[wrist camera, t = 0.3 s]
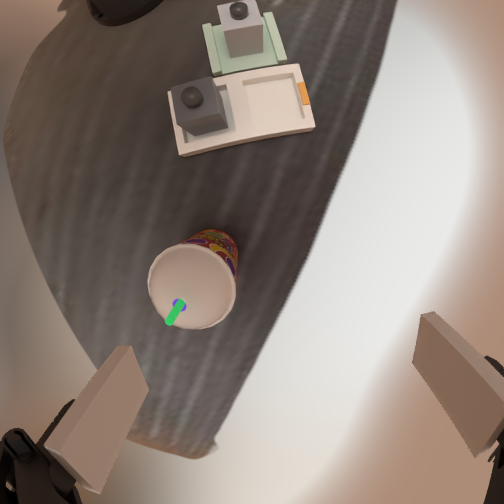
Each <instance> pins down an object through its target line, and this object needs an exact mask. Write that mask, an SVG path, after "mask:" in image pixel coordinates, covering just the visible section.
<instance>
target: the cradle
mask: <svg viewBox="0 0 504 504" xmlns="http://www.w3.org/2000/svg"><path fill="white" fill-rule="evenodd" d="M261 19H262V22H263V53H258V54H252V55H246V56H241V57H236V58H230V54H229V50H228V47H227V43H226V39H225V36H224V32H223V28H222V24H221V25H217V26H211V23H208V24H204V25H202V26H203V31H204V36H205V41H206V45H207V50H208V55H209V59H210V64H211V69H212V73H213V75H214V77H217V76H221V75H226V74H230V73H235V72H240V71H245V70H250V69H255V68H261V67H268V66H274V65H282V64H286V63H287V57H286V54H285V51H284V47H283V44H282V41H281V38H280V35H279V32H278V29H277V26H276V23H275V20H274V17H273V14H272V12H267V13H263V17H261Z"/></svg>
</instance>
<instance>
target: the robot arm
mask: <svg viewBox="0 0 504 504" xmlns="http://www.w3.org/2000/svg"><path fill="white" fill-rule="evenodd" d="M161 1H162V0H86V2H87V5H88V8H89V10H90V13H91V15H92V16H93V18H94V19H96V20H97V21H98V22H99V23H101V24H103V25H107V26H115V25H121V24H124V23H127V22H130V21H133V20H135V19H137V18H139V17H141V16H143V15H144V14H146V13H148V12H149V11H151V10H152V9H153V8H155V7H156V6H157V5H158V4H159V3H160V2H161ZM412 363H413V365H414V366H415V367H416V369H417V370H418V372H419V373H420V374H421V376H422V377H423V379H424V380H425V382H426V383H427V384H428V386H429V387H430V389H431V390H432V392H433V393H434V395H435V396H436V398H437V399H438V401H439V402H440V404H441V405H442V406H443V408H444V410H445V411H446V413H447V414H448V416H449V417H450V419H451V420H452V422H453V423H454V425H455V427H456V428H457V430H458V431H459V433H460V435H461V436H462V438H463V439H464V441H465V443H466V444H467V446H468V448H469V449H470V451H471V453H472V454H473V456H474V458H477V457H478V456H480V455H482V454H483V453H485V452H486V451H488V450H489V449H490V448H491V447H492V445H493V444H494V443H495V441H496V440H497V441H498V442H499V445H498V447H497V448H496V449H495V451H494V452H493V453H492V454H491V456H490V457H489V459H488V462H490V461H491V460H492V458H493V457H494V456H495V459H494V461H493V462H494V465H493V470H492V474H491V478H490V483H489V486H488V490H487V494H486V497H485V500H484V504H504V367H503V366H502V365H501V364H500V363H499V362H497V360H495V359H493V358H491V357H489V356H485V357H483V356H482V355H481V354H480V353H479V352H478V351H477V350H476V349H475V348H474V347H472V346H471V345H470V344H469V343H468V342H467V341H466V340H465V339H464V338H463V337H462V336H461V335H460V334H459V333H458V332H456V331H455V330H454V329H453V328H452V327H451V326H450V325H449V324H448V323H446V322H445V321H444V320H443V319H442V318H441V317H440V316H439V315H437V314H436V313H435V312H434V311H433V312H429V313H425V314H422V315H421V317H420V324H419V330H418V336H417V341H416V346H415V352H414V356H413V361H412ZM148 391H149V389H148V387H147V384H146V382H145V380H144V377H143V375H142V372H141V370H140V367H139V365H138V362H137V360H136V357H135V354H134V352H133V349H132V346H129V345H117V347H116V348H115V349H114V350H113V352H112V353H111V354H110V356H109V357H108V358H107V359H106V361H105V362H104V363H103V364H102V366H101V367H100V368H99V370H98V371H97V372H96V373H95V375H94V376H93V377H92V379H91V380H90V381H89V383H88V384H87V385H86V387H85V388H84V389H83V391H82V392H81V393H80V395H79V396H78V397H77V399H76V400H75V399H73V400H71V401H70V402H69V403H67V404H66V405H64V407H63V408H62V410H61V411H60V412H59V413H58V415H57V416H56V417H55V419H54V422H52V423H51V424H50V426H49V427H48V428H47V430H46V431H45V432H44V434H43V435H42V437H41V438H40V439H39V441H38V442H37V444H35V443H34V442H33V441H32V440H31V438H30V437H29V436H28V434H27V433H26V432H25V431H24V430H23V429H20V428H14V429H11V430H9V431H8V432H7V433H5V435H4V436H3V438H2V441H0V504H82V502H81V499H80V496H79V493H78V490H77V488H76V487H75V486H74V484H75V482H76V481H77V482H78V483H79V484H80V485H81V486H82V487H84V488H85V489H87V490H90V491H93V492H95V493H98V494H100V493H101V491H102V489H103V486H104V484H105V482H106V480H107V477H108V475H109V473H110V471H111V469H112V466H113V464H114V462H115V460H116V458H117V456H118V453H119V451H120V449H121V447H122V445H123V443H124V441H125V438H126V436H127V434H128V432H129V430H130V428H131V426H132V424H133V422H134V420H135V418H136V416H137V413H138V411H139V409H140V407H141V405H142V403H143V401H144V399H145V397H146V395H147V393H148ZM6 481H7V482H8V483H9V484H10V485H11V486H12V490H11V491H10V490H9V489H8V488H7V487H6Z"/></svg>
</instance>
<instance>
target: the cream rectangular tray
mask: <svg viewBox="0 0 504 504" xmlns="http://www.w3.org/2000/svg"><path fill="white" fill-rule="evenodd" d="M170 89H171V91H168V98H169V104H170V109H171V115H172V121H173V126H174V131H175V137H176V142H177V147H178V152H179V155H180V156H183V157H188V156H192V155H195V154H199V153H203V152H207V151H211V150H215V149H219V148H224V147H228V146H232V145H237V144H241V143H246V142H251V141H256V140H261V139H266V138H272V137H278V136H283V135H289V134H296V133H302V132H309V131H312V130H313V129H314V128H315V123H314V119H313V115H312V111H311V107H310V101H309V98H308V94H307V90H306V87H305V83H304V81H303V77H302V74H301V70H300V67H299V64H290V65H282V66H275V67H268V68H262V69H256V70H250V71H245V72H240V73H235V74H231V75H226V76H222V77H217V78H212V76H208V77H205V78H201V79H197V80H194V81H190V82H187V83H183V84H180V85H177V86H174V87H171V88H170Z"/></svg>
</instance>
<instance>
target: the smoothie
mask: <svg viewBox="0 0 504 504" xmlns="http://www.w3.org/2000/svg"><path fill="white" fill-rule="evenodd" d="M237 266H238V249H237V247H236V244H235V242H234V241H233V239H232V238H231V237H230V236H229V235H227V234H226V233H224V232H223V231H219V230H216V229H209V230H204V231H202V232H199V233H197V234H195V235H193V236H192V237H190V238H188V239H186V240H184V241H182V242H180V243H178V244H176V245H174V246H172V247H169V248H167V249H165V250H164V251H163V252H162V253H160V254H159V255H158V256H157V257H156V258H155V260H154V262H153V263H152V265H151V267H150V270H149V275H148V280H147V282H148V289H149V295H150V297H151V300H152V302H153V305H154V307H155V309H156V311H157V312H158V313H159V314H160V315H161V316H162V317H163V319H165V323H166V324H167V325H169V326H171V325H174V326H177V327H180V328H183V329H194V330H195V329H204V328H208V327H212V326H214V325H216V324H217V323H219V322H221V321H222V320H224V319H225V317H226V316H227V315H228V314H229V312H230V311H231V310H232V307H233V304H234V301H235V298H236V279H237Z"/></svg>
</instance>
